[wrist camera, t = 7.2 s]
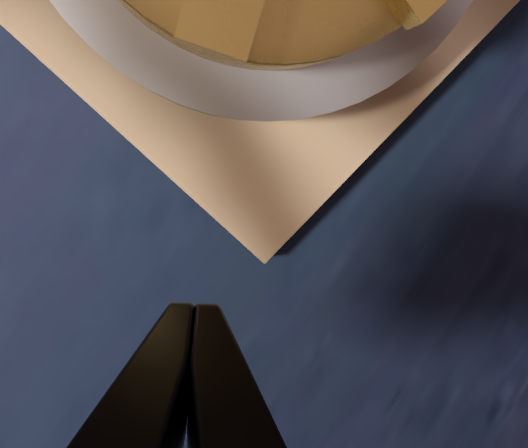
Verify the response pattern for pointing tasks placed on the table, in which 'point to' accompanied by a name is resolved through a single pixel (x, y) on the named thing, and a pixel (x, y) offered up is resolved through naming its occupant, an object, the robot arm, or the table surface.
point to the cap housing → (247, 105)
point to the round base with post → (277, 27)
